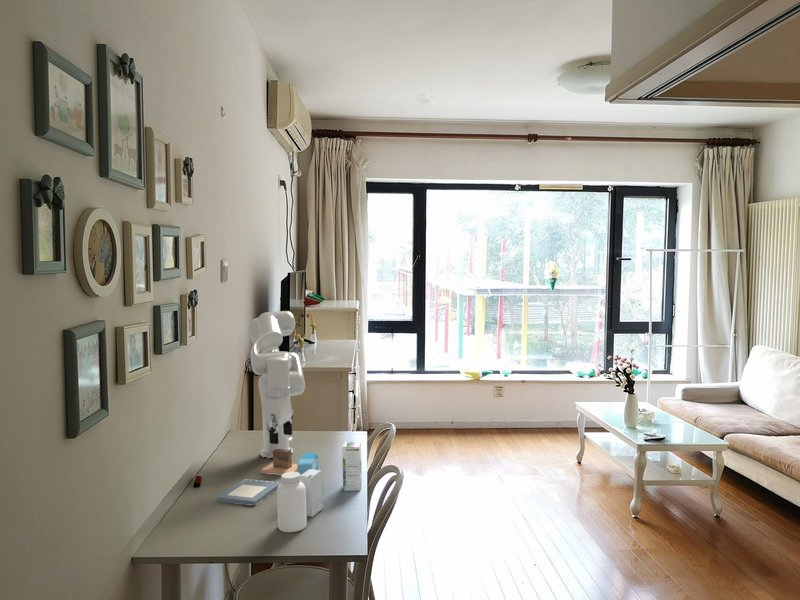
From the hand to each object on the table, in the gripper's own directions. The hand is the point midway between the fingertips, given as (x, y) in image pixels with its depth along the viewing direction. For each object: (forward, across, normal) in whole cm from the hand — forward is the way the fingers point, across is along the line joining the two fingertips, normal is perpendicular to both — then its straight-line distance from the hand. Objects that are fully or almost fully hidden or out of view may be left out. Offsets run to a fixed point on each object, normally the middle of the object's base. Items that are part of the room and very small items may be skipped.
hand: (281, 439), depth 215 cm
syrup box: (+10, +10, +31) cm, 34 cm away
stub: (+11, +1, +1) cm, 11 cm away
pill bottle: (+10, +40, +26) cm, 49 cm away
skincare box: (+10, +30, +27) cm, 42 cm away
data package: (+10, +18, +20) cm, 29 cm away
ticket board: (+11, +22, +1) cm, 25 cm away
